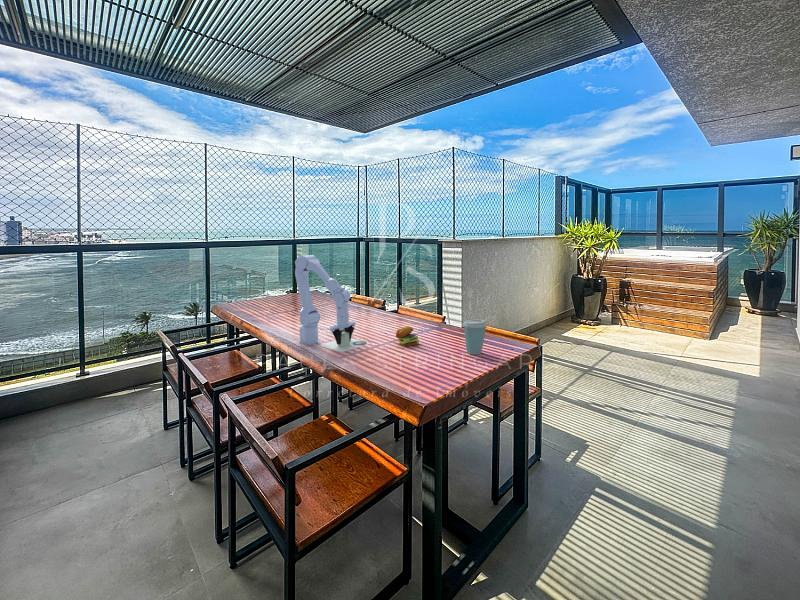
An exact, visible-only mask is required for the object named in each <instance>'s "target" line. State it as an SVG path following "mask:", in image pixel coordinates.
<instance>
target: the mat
mask: <svg viewBox="0 0 800 600" xmlns="http://www.w3.org/2000/svg"><path fill="white" fill-rule="evenodd" d="M356 341H362V340H361V339H355V338H352V337H351V341H350V345H349V346H347V347H339V346H338V344H337V342H336V339H335V340H331V341H328V342H325V343H322V344H318V345H317V346H318V347H321V348H325V349H326V348H327V349H328V350H329V349H330V350H332V351H336V352H339V353H345V352H348V351H351V350H353V349H358V348H361V347H363V346H367V345H369V344H371V342H369V341H366V342H367V344H365V345H353V342H356Z"/></svg>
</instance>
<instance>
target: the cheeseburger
mask: <svg viewBox="0 0 800 600" xmlns="http://www.w3.org/2000/svg"><path fill="white" fill-rule="evenodd" d="M413 331H414V328H413V327H411V326H408V325H407V326H404V327H401V328H398V329H397V330H396V331H395V338H397V339H398V342H399V344H400V345H401V346H404V347H411V346H416V345H419V343H420V340H419V337H418V335H417V334H416V333H412V332H413Z"/></svg>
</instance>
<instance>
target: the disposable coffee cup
mask: <svg viewBox="0 0 800 600" xmlns="http://www.w3.org/2000/svg"><path fill="white" fill-rule="evenodd" d="M462 325H463V332H464V333H463V334H464V342H465V349H466V352H467V354H468V355H473V356H474V355H480V354H482V352H483V345H484V340H485V335H486V334H485V333H486V331H487V330H486V329H487V323H486V320H485V319H468V320H465V321H464V322H463V324H462Z"/></svg>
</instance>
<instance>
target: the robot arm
mask: <svg viewBox="0 0 800 600" xmlns="http://www.w3.org/2000/svg"><path fill="white" fill-rule="evenodd" d="M294 265H295V269H294V275H295V276H294V277H295V280H296V281H295V282H296V285H297V290H298V294H299V295H298V296H299V300H300V303H301V309H300V311H299V322H300V326H299V328H298V329H299V331H298V333H299V340H298V343H302V344H305V345H308V346H309V345H310V346H311V345H314V344H319V343H322V342H323V340H319V327H318V325H319V322H320V320H321V315H320V313H319V312H318V309H317V307H316V306H315V305H314V303H313V299H312V294H311V288H310V284H309V279H308V274H309V273H310V271H312V272H314V273H315V274H316V275H318V277H319V278H320V279H321V280H322V281H323V282H324V287H325V288H326V289H327V291H329V293H330V294H331V295H332V297H333V298H332V300H333V302H334V303H335V306H336V307H335V308H336V309H335V310H336V324H333V325H332V326H330V327H329V331H330V332H331V333H332V335H333V337H334V339H335V340H336V342H337V344H339V345H340V344H341V334H342V331H340V330H339V329H343V328H344V329H345V332H349V339H350V341H351V338H352V336H353V333H354V331H355V328H356V322H355V321H350V320H349V319H350V316H349V314H350V313H349V300H350V299H351V294H350V292H349V291H348V290H347V289H344V287H342V286H341V285H340V284H339V283H338V280H337V279H335V278H331V277H330V275H329V274H328V272H327V271H326V270H325V268H324V266H322V265H321V262H320V260H319V259H318V258H317V257H316V255H314V254H310V255H299V256H298V257H296V259H295V261H294Z"/></svg>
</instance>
